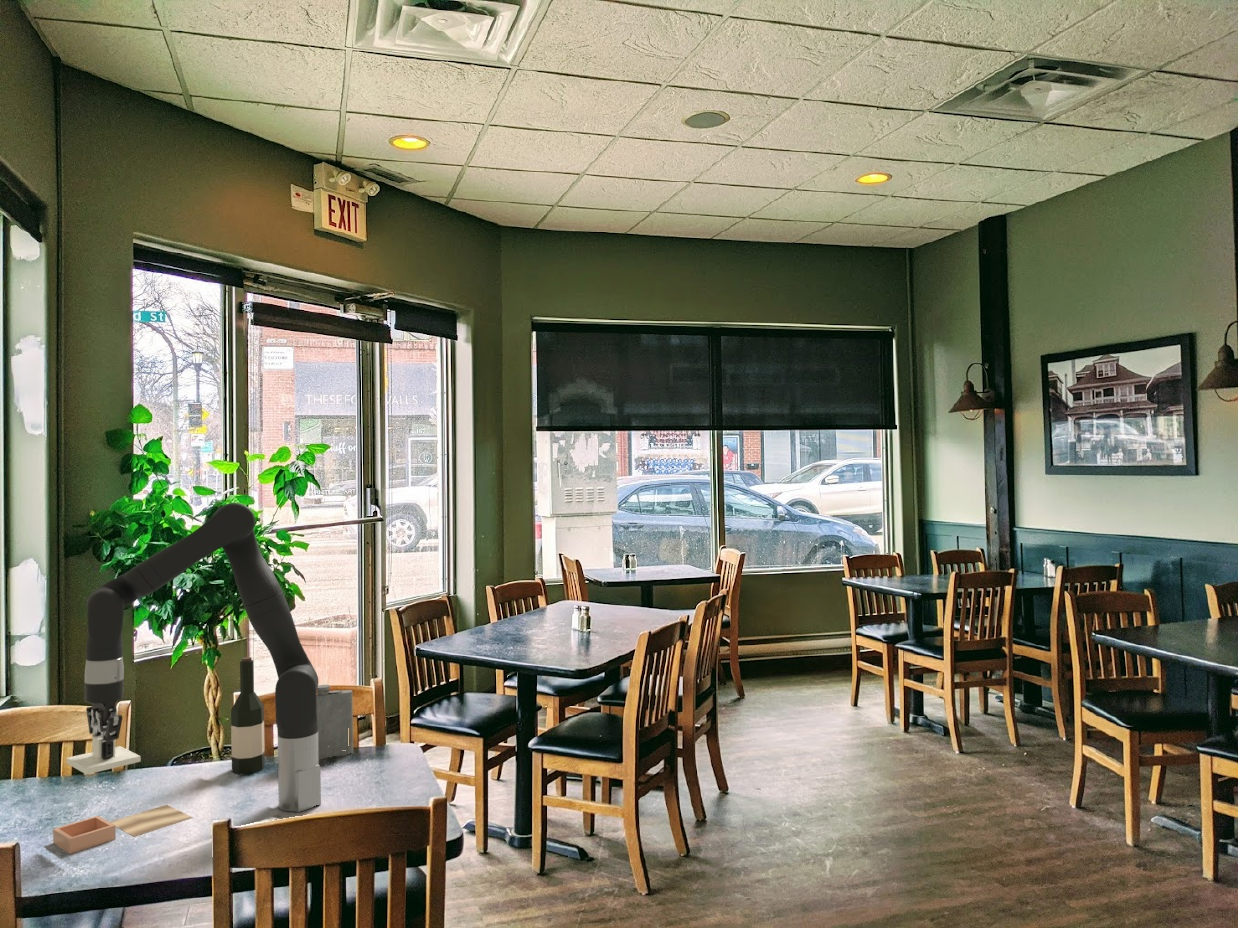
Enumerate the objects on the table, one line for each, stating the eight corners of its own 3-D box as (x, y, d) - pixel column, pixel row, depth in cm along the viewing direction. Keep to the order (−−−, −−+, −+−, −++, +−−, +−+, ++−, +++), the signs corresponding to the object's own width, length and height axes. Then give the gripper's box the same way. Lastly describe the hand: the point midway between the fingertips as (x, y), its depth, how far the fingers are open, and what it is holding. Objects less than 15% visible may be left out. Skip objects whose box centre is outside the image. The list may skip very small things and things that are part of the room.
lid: (140, 761, 198) (140, 735, 198) (86, 774, 189) (86, 747, 189) (119, 751, 205) (120, 726, 205) (66, 763, 196) (66, 737, 196)
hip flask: (296, 764, 244) (295, 691, 244) (293, 760, 247) (291, 688, 247) (354, 753, 253) (353, 682, 252) (350, 749, 256) (349, 680, 256)
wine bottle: (253, 775, 236) (251, 661, 236) (224, 773, 237) (223, 660, 237) (271, 764, 244) (269, 655, 244) (244, 762, 246) (242, 654, 245)
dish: (115, 843, 194) (115, 825, 194) (70, 858, 187) (69, 839, 187) (98, 833, 200) (97, 815, 199) (53, 847, 192) (52, 828, 192)
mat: (193, 821, 205) (193, 817, 205) (134, 841, 195) (134, 836, 195) (166, 808, 213) (166, 804, 213) (108, 826, 203) (108, 822, 203)
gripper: (135, 680, 196) (135, 759, 196) (109, 670, 205) (108, 745, 205) (98, 686, 190) (97, 767, 190) (73, 676, 199) (72, 753, 199)
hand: (103, 755), depth 197 cm, fingers closed on lid, 3 cm apart
